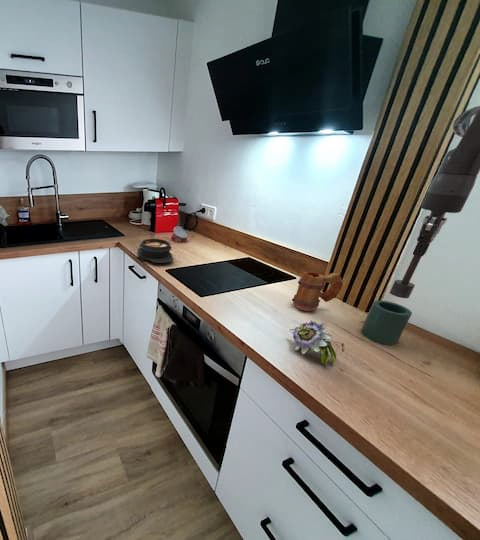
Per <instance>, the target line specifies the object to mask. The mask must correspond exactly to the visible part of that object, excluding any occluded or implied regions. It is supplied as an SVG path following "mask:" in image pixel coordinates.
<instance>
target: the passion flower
mask: <svg viewBox="0 0 480 540" xmlns="http://www.w3.org/2000/svg"><path fill="white" fill-rule="evenodd" d="M327 326H328V324H327V322H321V323H317V321H315V320H314V321H313V320H310V321H309V322H305V323H304V322H303V323H300V325H299V326H296V327H294V328H291V329H289V332H290V333H291V334H293V336H292V338H293V339H294V340H293V342H292V344H293V345H296V346H295V347H294V348H293V351H296V352H298V351H300V350H301V354H302V355H307V354H308V353H309V352H310V350H311V349H312V351H314V352H315V353H320V362H321V364H322V365H323V366H327V364H328V362H329V361H330V357H331V365H334V363H335V362H336V360H337V353H336V351H335V349H334V348H333V345H332V341H331V340H332V339H333V338H334V335H333V334H330V333H327V332H324V330H325V329H326V328H327ZM334 343H336V344H340V345H341V347H342V348H341V352H343V353H344V352H345V350H346V349H345V343H344V342H339V341H338V342H337V341H334Z"/></svg>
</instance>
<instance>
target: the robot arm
mask: <svg viewBox="0 0 480 540" xmlns="http://www.w3.org/2000/svg"><path fill="white" fill-rule="evenodd" d="M452 132H453V133H454V134H455V135H456V136H457V137H460V138H461V139H460V141H459V142H458V143H457V145H456V147H454V148H453V149H450V150H449V151H448V152H447V153H446V154H445V156H444V157H443V158H442V161H441V164H440V165H439V168H438V170H437V173H436V175H435V176H434V177H433V179H432V181H431V182H430V185H429V188H428V189H427V192H426V194H425V196H424V199H423V201H422V202H421V204H420V208H421V209H422V210H425V211H430V214H429V215H426V216H424V217H423V220H422V225H421V227H420V229H419V231H418V233H419V234H418V237H417V238H416V241H417V242H416V245H415V247H414V249H413V252H412V255H413V256H414V255H416V256H420V257H421V258H422V257H424V256H425V255H426V254H427V251H428V249H429V247H430V246H431V244H432V242H433V241H434V240H435V239H436V237H437V236H438V234H439V233H440V232H441V230H442V228H443V226H444V225H445V224H446V222H447V221H448V220H447V219H448V218H447V217H445V216H446V214H447V213H448V214H459V213H461V212H462V210H463V208H464V207H465V204H466V202H467V201H468V198H469V197H470V195H471V193H472V191H473V188H474V187H475V184H476V180H477V179H478V175H479V174H480V105H478V106H474V107H472V108H469V109H467V110H465V111H463V112H461V114H459V115H458V116H457V117H456V118H455V120H454V121H453V123H452ZM425 237H429V238H425Z"/></svg>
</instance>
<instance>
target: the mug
mask: <svg viewBox="0 0 480 540" xmlns="http://www.w3.org/2000/svg"><path fill="white" fill-rule="evenodd" d="M326 283H328V284H330V285H331V286H330V287H329V289H328V290H327V291H325V292H322V289H324V287H325V285H326ZM297 284H298V286H297V289H296V293H295V294H294V295H293V298H292V299H291V301H292V305H293V306H294V307H295V308H297V309H298V310H301V311H302V312H303V311H304V312H312V311H315V310H316V309H317V308H318V307H319V306H320V304H319V303H321V300H323V301H324V303H329V302H331V301H332V300H334V299H335V298H336V297H338V295H339V294H340V292H342V291H341V290H342V289H343V285H344V282H343V279H342V277H341V276H340V274H338V273H336V272H331V273H329V274H327V275H324V274H323V273H321V274H320V273H319V272H316V271H310V270H309V271H304V272H303V273H302V276H301V277H300V278H299V280H298V281H297Z"/></svg>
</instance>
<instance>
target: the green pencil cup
mask: <svg viewBox="0 0 480 540" xmlns="http://www.w3.org/2000/svg"><path fill="white" fill-rule="evenodd" d="M412 313H413V311H411V310H410V309H409V308H407V307H405V306H403V305H401V304H398V303H395V302H392V301H388V300H381V299H377V300H374V301H373V302H372V304H371V307H370V309H369V311H368V313H367V316H366V318H365V320H364V322H363V325H362V327H361V330H360V333H361V334H362V335H363V336H364V337H365V338H366V339H368V340H370V341H372V342H374V343H377V344H380V345H383V346H384V345H385V346H395V345H397V343H398V342H399V340H400V338H401V336H402V334H403V333H404V331H405V328H406V326H407V325H408V322H409V320H410V318H411V316H412Z"/></svg>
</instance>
